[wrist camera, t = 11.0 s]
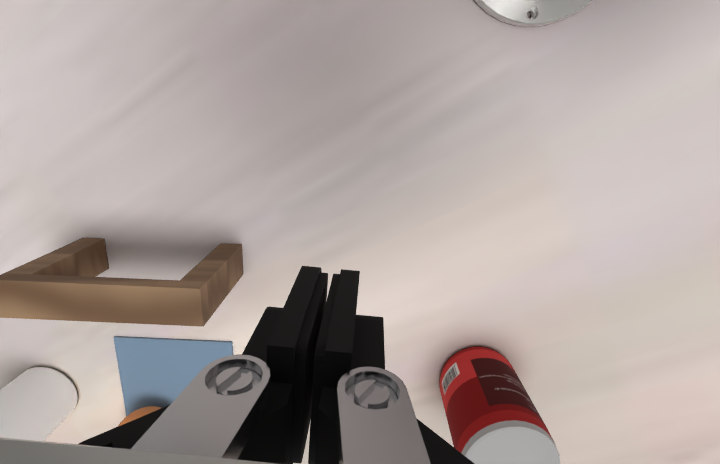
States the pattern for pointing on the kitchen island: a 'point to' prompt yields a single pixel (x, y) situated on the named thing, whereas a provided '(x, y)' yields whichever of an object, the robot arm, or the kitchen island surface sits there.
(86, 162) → the kitchen island surface
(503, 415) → the canned food
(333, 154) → the kitchen island surface
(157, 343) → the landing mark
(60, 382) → the can
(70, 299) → the bridge
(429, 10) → the kitchen island surface
